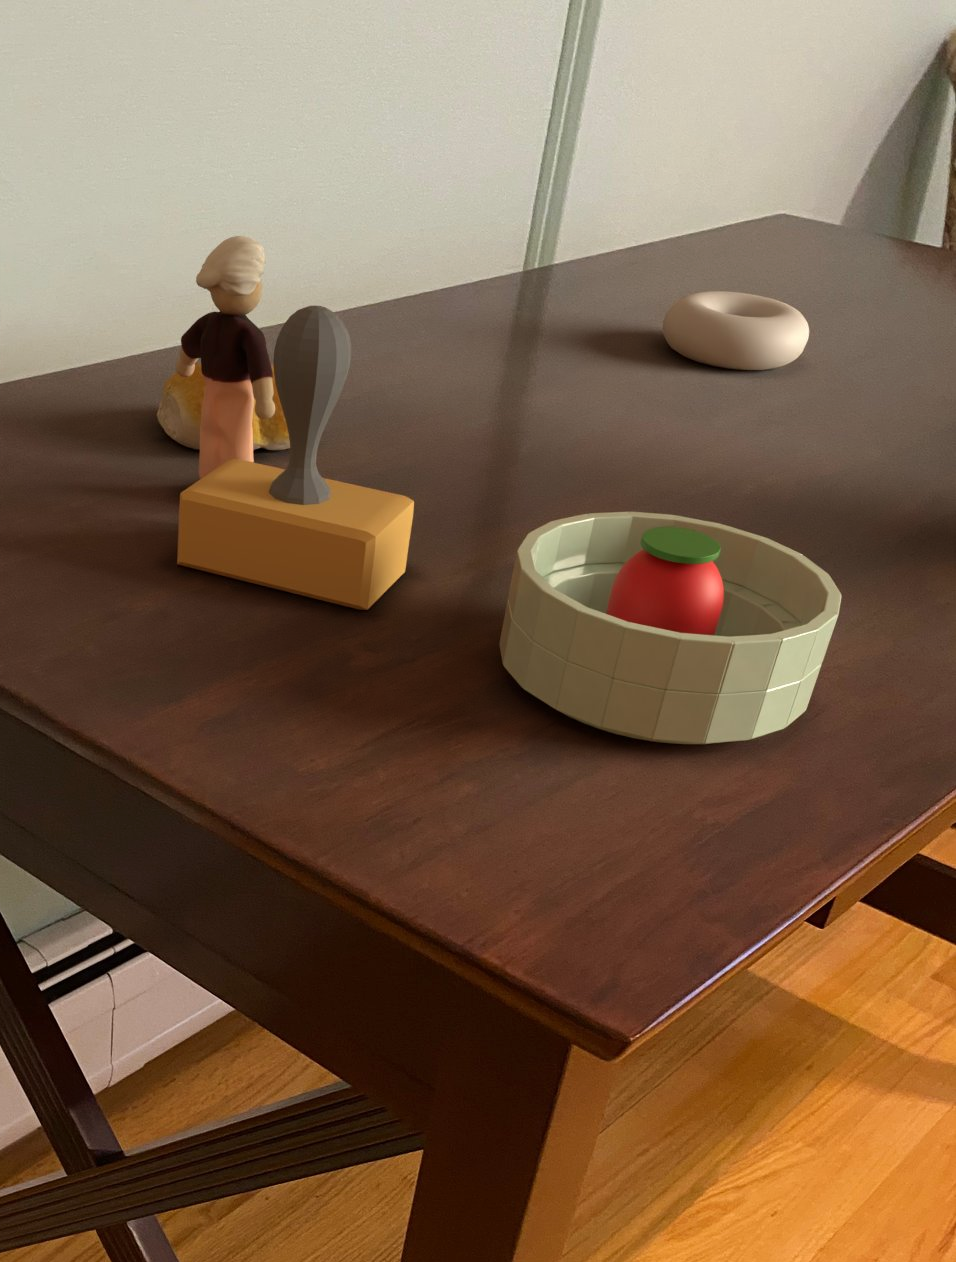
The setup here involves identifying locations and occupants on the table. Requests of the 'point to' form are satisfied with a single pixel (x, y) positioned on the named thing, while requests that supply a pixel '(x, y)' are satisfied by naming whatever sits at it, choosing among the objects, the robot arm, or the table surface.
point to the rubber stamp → (299, 493)
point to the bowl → (666, 634)
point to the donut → (735, 330)
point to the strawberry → (671, 583)
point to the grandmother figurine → (229, 354)
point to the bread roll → (185, 409)
